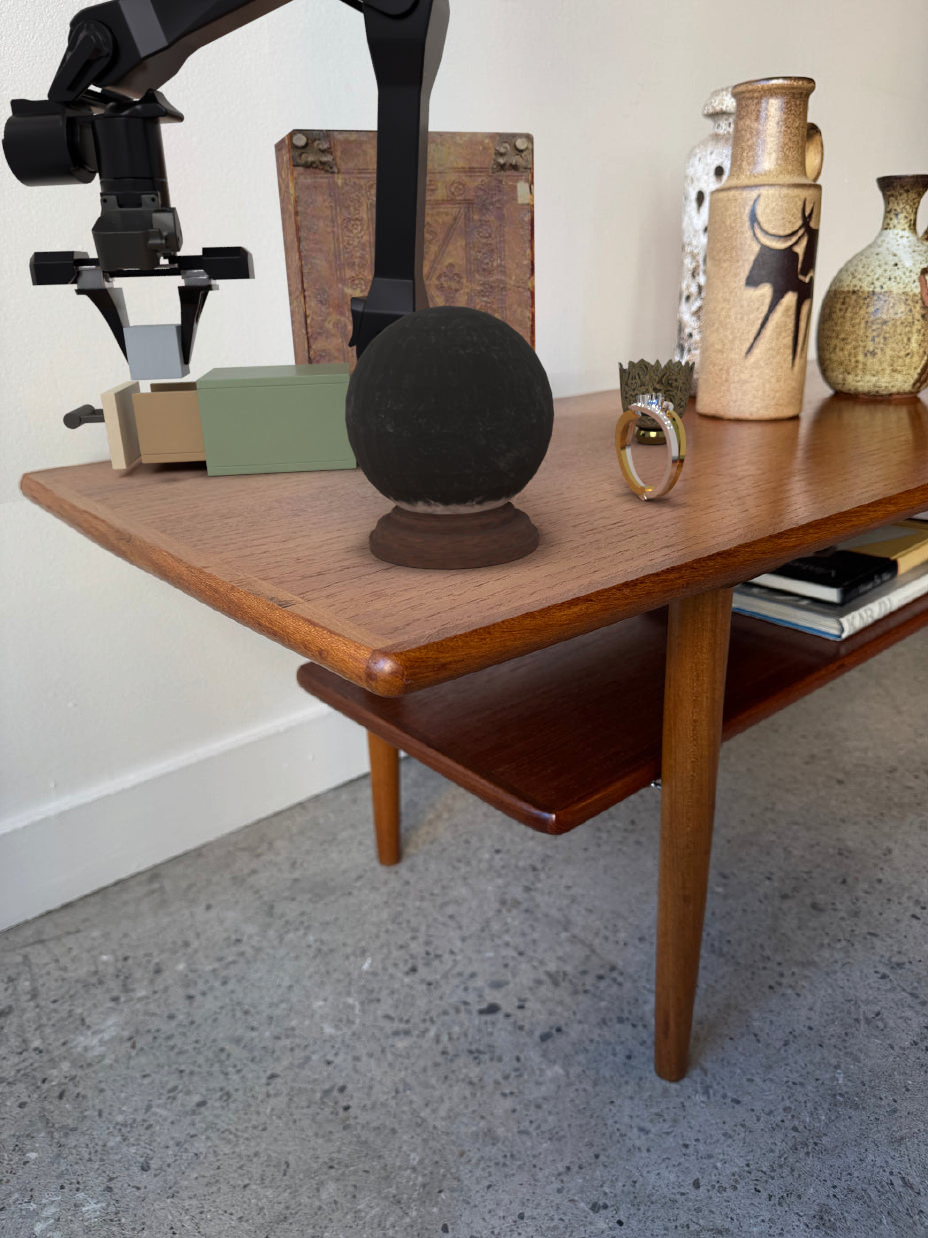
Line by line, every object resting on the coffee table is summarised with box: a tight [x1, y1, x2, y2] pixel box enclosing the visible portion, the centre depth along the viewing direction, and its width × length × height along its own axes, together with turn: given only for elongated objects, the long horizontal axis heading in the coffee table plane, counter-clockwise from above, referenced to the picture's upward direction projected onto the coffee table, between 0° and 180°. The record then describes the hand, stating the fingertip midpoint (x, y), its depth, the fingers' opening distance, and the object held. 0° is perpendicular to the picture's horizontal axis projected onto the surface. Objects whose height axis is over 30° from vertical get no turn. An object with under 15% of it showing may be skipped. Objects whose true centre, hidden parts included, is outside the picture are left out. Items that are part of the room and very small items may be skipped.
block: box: [123, 323, 191, 381], centre depth 86 cm, size 5×5×5 cm
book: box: [273, 128, 536, 375], centre depth 100 cm, size 25×9×30 cm, turn 110°
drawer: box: [62, 380, 206, 471], centre depth 88 cm, size 17×10×7 cm, turn 97°
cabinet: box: [195, 363, 358, 477], centre depth 89 cm, size 14×12×9 cm
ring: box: [614, 393, 687, 501], centre depth 70 cm, size 7×3×8 cm, turn 23°
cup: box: [617, 358, 696, 445], centre depth 93 cm, size 8×7×8 cm
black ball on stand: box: [345, 306, 555, 570], centre depth 59 cm, size 13×13×15 cm
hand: (159, 365), depth 86 cm, fingers closed on block, 5 cm apart
